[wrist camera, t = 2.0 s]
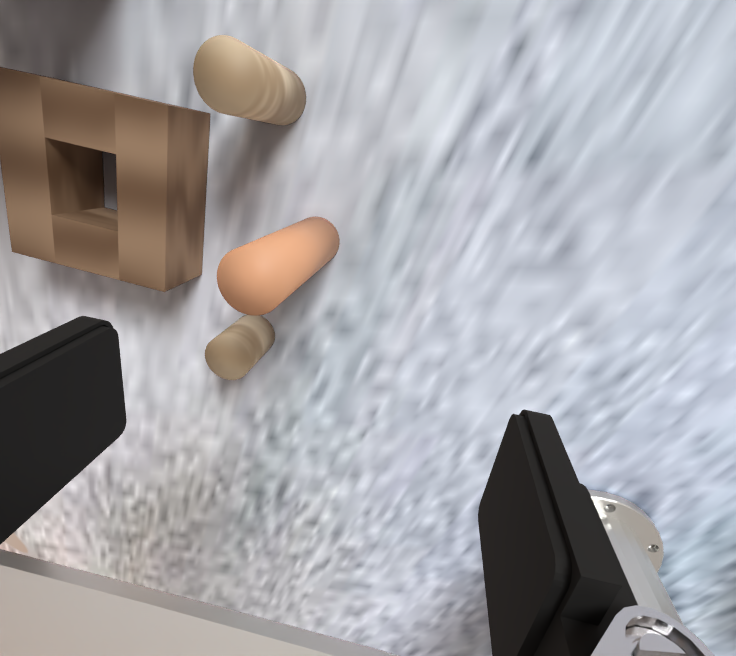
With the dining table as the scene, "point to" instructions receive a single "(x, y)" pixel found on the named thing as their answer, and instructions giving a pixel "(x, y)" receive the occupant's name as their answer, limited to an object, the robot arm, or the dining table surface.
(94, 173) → the hole block
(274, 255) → the long pin
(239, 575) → the dining table surface
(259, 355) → the short pin
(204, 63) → the medium pin
